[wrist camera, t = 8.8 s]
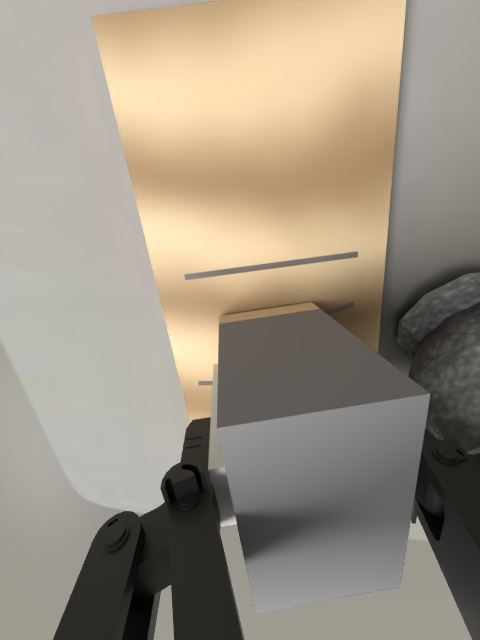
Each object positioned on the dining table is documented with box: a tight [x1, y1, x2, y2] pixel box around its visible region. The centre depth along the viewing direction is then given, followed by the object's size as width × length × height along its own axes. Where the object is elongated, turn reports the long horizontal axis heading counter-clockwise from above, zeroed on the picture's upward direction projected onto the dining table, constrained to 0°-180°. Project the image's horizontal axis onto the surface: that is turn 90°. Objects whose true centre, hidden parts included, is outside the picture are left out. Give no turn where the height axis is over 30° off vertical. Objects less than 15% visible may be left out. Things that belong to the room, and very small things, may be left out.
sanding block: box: [217, 302, 430, 614], centre depth 11 cm, size 8×5×8 cm, turn 8°
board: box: [91, 0, 406, 423], centre depth 14 cm, size 24×12×1 cm, turn 7°
